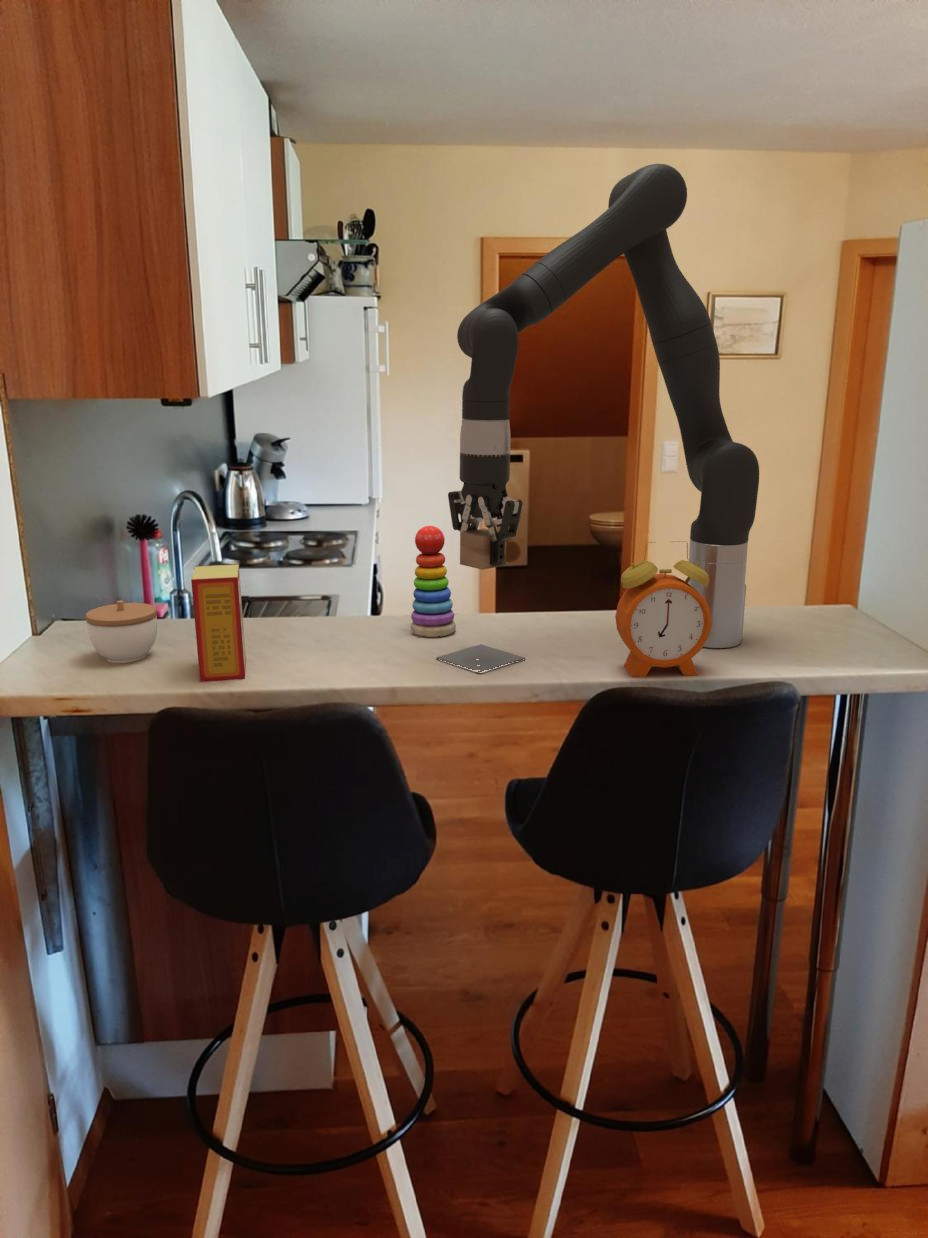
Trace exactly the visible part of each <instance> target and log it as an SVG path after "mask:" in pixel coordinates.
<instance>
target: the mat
mask: <svg viewBox="0 0 928 1238" xmlns="http://www.w3.org/2000/svg"><path fill="white" fill-rule="evenodd" d="M435 657H436V658H435V660H436V659H440V660H442V661H446V662H449V663H453V664H455V665H460V666H462V667H466V668H468V669H472V670H480V671H478V672H482V671H484V670H489V669H493V668H495V667H499V666H501V665H505V664H508V663H512V662H516V661H520V662H522V661H521V660H523V659H525V660H526V657H524V656H521V655H518V654H516V653H512V652H508V651H505V650H501V649H498V648H495V647H491V646H488V645H485V644H483V643H481V644H478V645H473V646H470V647H466V648H464V649H459V650H457V651H453V652H450V653H446V654H442V655H439V656H435ZM476 659H479V660H476ZM442 661H441V662H442ZM523 661H524V660H523ZM477 665H480V666H477Z"/></svg>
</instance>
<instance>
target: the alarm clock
mask: <svg viewBox="0 0 928 1238" xmlns="http://www.w3.org/2000/svg"><path fill="white" fill-rule="evenodd" d="M684 542H685V543H686V559H687V560H684V559H683V560H682V559H681V560H679V561H677V562H676V563H675V564H674V565H673V566H672V567H673V568H674V569H675V570H677V571H678V572H680V574H681V573H682V574H683V575H684V576H687V577H686V579H681V578H680V577H678V576H676V575H673V574H672V573H673V571H672V569H671V568H665V569H664V568H661V569H658V567H657V566H656V565H655V564H654V562H651V561H649V560H646V554H647V545H648V543H650V544H651V543H655V541H647V542H646V543H645V547H644V548H645V549H644V559H643V560H642V561H638V562H637V563H634V562H632V563H630V566H628V568H626V570H624V571H623V573H622V574H621V578H620V581H621V582H620V583H621V586H622V588H623V589H625V591H623V594H622V596H621V597H620V599H619V601H618V603H617V607H616V611H615V616H614V617H615V625H616V630H617V632H618V634H619V637H620V638H621V641H622V642H623V643H624V645H625V646H626V647H627V648H628V650H629V654H628V656H627V658H626V659H625V662H624V664H623V667H624V668H625V670H626V671H627V672H628V674H629V675H630V676H631V677H632V678H637V677H641V678H642V677H643V678H645V677H647V675H648V673H649V672H650V671H651V669H652V667H657V668H672V667H676V669H678V670H679V672H680V673H681V674H682V675H683V676H697V675H698V672H697V670H696V668H695V665H694V662H693V660H692V659H693V658H694V657H695V656H696V655H697V654H699V652H700V651H701V650H702V649H703V648H704V647H703V646H704V644H705V642H706V641H707V639H708V637H709V633H710V628H711V614H710V609H709V607H708V605H707V603H706V600H705V599H704V598H703V596H702V595H701V594H700V593H699V592H698V591H697V590H696V589H694V588H693V587H692V586H691V585H689V584H688V582H689V580H690V579H693V580H695V581H696V582H698V583H700V584H702V585H704V586H706V587H707V586H708V583H709V576H708V574H707V573H706V572H705V571H704V570H702V569H701V568H699V567H698V566H699V565H700V562H697V563H696V565H694V564H695V563H694V564H692V563H693V562H692V563H691V562H689V561H690V560H689V546H688V542H687V541H686V540H683V541H681V540H680V541H678V540H677V541H673V540H672V541H671V543H684ZM658 571H659V573H658Z"/></svg>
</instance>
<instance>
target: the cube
mask: <svg viewBox="0 0 928 1238" xmlns="http://www.w3.org/2000/svg"><path fill="white" fill-rule="evenodd" d="M459 533H460V534H459V537H460V538H459V565H461V566H464V567H469V568H474V569H478V570H481V571H483V570H488V569H493V568H499V567H504V566H506V565H507V539H506V540H505V553H504V561H503V563H502V564H501V565H497V566H492V565H490V542H491V539H490V534H489V530H488V528H478V529H477V530H472V531H465V532H460V531H459ZM497 533H498V530H497Z"/></svg>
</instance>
